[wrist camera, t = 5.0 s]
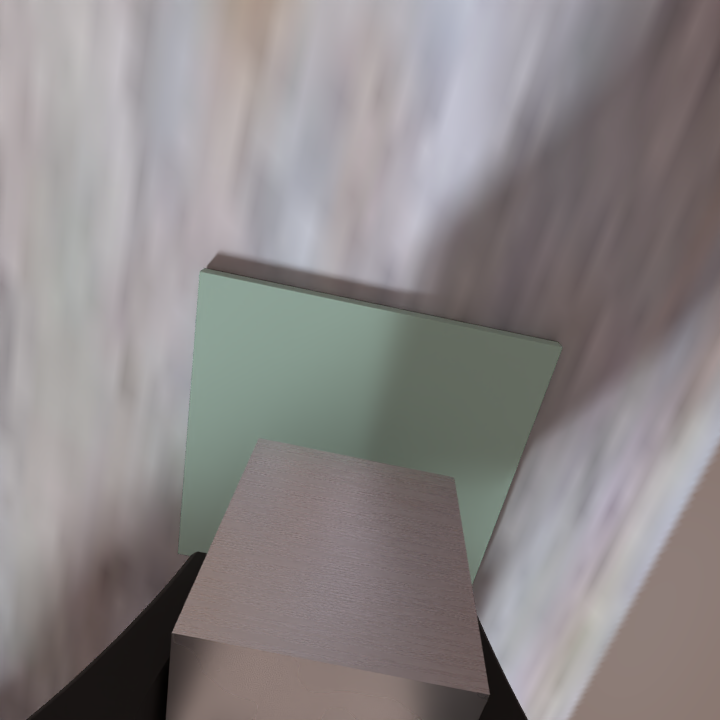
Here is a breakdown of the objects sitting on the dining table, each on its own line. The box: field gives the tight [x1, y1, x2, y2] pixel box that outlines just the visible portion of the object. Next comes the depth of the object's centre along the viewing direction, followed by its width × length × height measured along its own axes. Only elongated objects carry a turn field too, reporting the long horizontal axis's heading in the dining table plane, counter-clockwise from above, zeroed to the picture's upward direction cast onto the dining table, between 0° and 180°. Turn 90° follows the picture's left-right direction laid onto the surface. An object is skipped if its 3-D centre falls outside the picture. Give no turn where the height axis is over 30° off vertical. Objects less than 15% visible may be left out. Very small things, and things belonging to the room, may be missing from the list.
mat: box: [178, 268, 563, 584], centre depth 16 cm, size 10×10×1 cm
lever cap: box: [166, 438, 490, 720], centre depth 10 cm, size 6×4×6 cm
